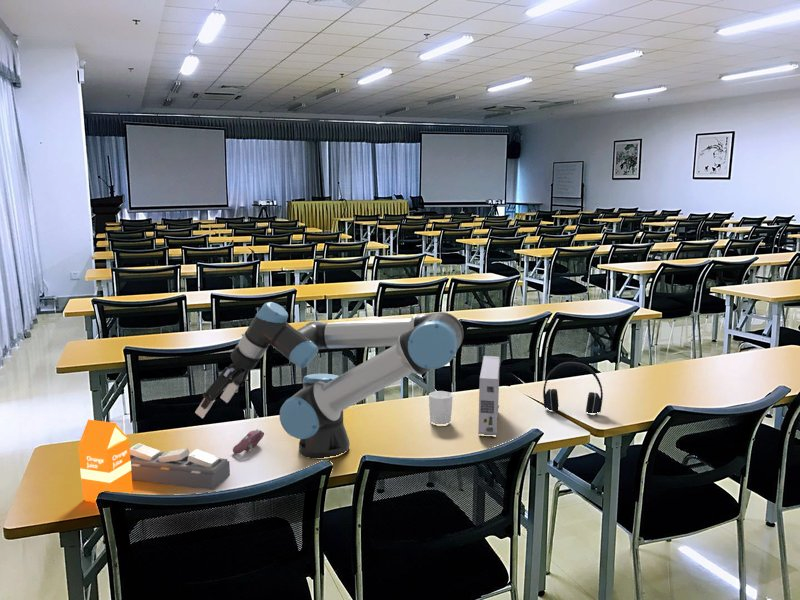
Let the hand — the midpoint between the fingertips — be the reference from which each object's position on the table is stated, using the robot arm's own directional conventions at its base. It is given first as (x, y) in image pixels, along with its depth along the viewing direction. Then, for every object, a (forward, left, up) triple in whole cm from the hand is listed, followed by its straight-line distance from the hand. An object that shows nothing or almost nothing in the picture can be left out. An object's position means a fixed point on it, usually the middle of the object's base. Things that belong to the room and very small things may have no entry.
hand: (212, 407), depth 181 cm
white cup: (-59, -44, -16) cm, 75 cm away
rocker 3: (-5, +13, -9) cm, 17 cm away
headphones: (-102, -65, -16) cm, 122 cm away
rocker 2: (+4, +13, -9) cm, 17 cm away
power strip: (+4, +13, -15) cm, 21 cm away
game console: (-75, -47, -16) cm, 90 cm away
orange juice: (+14, +27, -16) cm, 35 cm away
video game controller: (-7, -9, -16) cm, 19 cm away
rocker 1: (+13, +13, -9) cm, 21 cm away
